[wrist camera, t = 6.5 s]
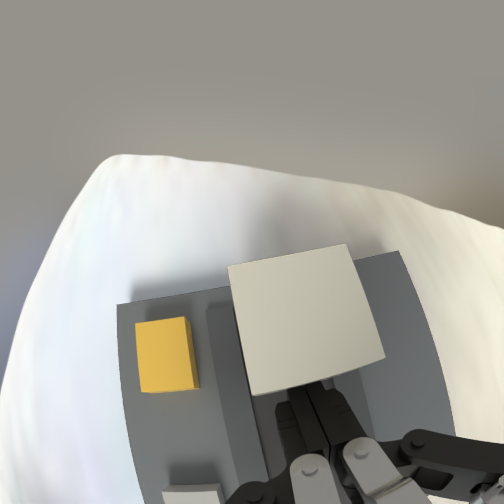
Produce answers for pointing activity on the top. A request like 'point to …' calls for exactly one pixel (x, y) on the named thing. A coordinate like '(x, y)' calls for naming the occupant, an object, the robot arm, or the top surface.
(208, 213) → the top surface
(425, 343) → the switch panel
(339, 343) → the switch tab
